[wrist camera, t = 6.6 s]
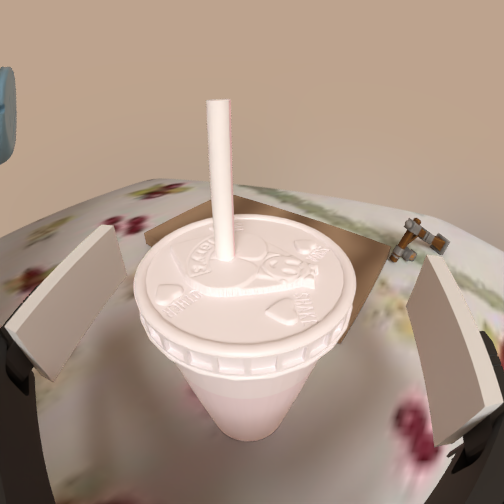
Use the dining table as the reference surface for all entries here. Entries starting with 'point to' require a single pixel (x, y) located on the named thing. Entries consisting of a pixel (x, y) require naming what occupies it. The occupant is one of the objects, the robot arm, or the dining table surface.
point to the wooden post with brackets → (413, 232)
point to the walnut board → (354, 246)
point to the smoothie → (243, 301)
